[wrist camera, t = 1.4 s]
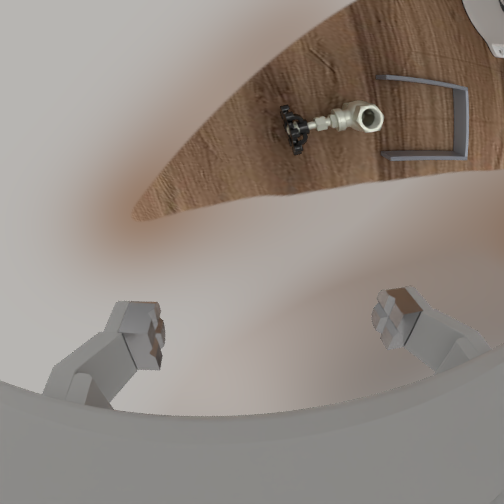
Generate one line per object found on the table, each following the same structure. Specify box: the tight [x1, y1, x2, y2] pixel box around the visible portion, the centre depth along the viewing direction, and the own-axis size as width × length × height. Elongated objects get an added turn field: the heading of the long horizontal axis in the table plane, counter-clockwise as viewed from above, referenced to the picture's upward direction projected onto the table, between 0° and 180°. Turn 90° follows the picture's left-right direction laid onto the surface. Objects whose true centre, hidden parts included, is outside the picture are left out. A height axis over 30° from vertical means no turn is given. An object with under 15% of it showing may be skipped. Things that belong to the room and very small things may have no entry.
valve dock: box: [376, 75, 469, 161], centre depth 30 cm, size 16×12×3 cm
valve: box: [280, 100, 384, 155], centre depth 30 cm, size 7×7×12 cm
